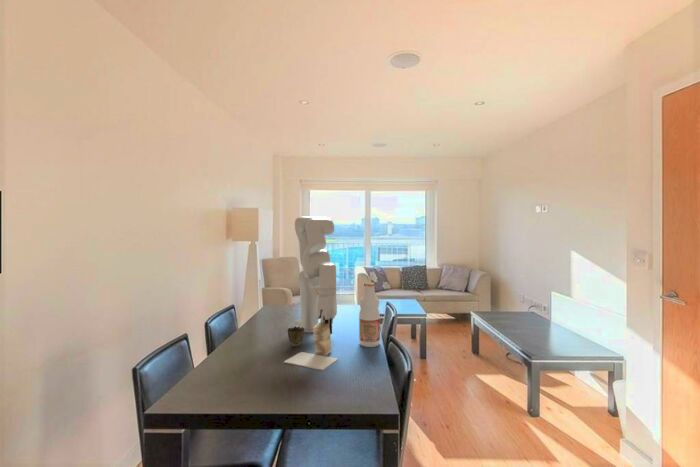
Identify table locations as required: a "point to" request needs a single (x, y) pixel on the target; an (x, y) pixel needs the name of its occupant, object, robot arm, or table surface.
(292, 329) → the cup
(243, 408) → the table surface
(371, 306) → the fruit juice
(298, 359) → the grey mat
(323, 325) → the maple block
